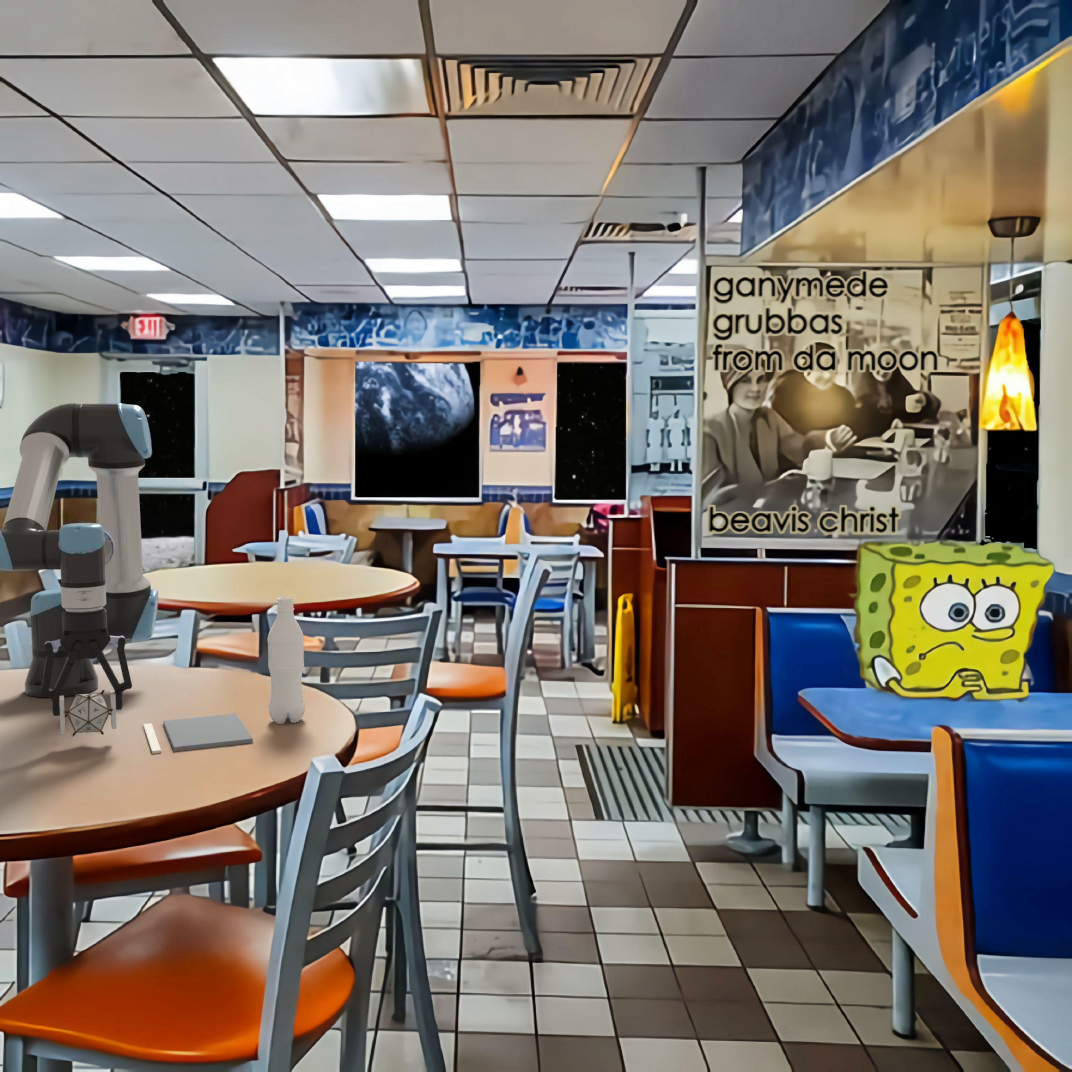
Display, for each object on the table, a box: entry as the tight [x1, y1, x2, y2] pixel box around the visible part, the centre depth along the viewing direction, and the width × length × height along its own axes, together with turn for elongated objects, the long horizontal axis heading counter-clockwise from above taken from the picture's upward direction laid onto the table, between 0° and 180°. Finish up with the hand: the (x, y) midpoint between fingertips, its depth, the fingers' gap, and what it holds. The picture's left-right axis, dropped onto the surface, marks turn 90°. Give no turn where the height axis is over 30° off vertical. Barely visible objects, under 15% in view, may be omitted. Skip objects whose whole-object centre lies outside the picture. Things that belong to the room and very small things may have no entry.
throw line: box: [143, 722, 162, 755], centre depth 199 cm, size 20×2×1 cm, turn 25°
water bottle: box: [267, 596, 306, 725], centre depth 212 cm, size 7×7×25 cm
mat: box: [163, 713, 254, 752], centre depth 203 cm, size 20×14×1 cm
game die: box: [64, 689, 113, 737], centre depth 195 cm, size 9×8×10 cm
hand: (88, 729), depth 195 cm, fingers closed on game die, 8 cm apart
